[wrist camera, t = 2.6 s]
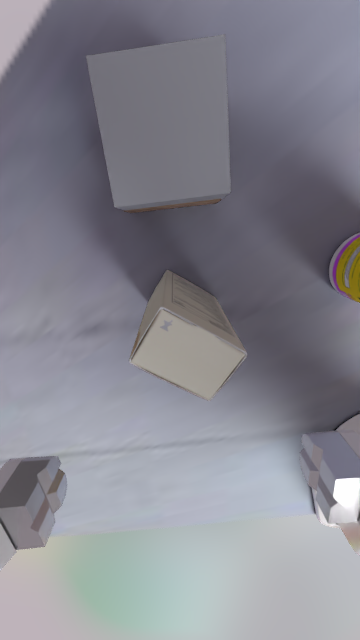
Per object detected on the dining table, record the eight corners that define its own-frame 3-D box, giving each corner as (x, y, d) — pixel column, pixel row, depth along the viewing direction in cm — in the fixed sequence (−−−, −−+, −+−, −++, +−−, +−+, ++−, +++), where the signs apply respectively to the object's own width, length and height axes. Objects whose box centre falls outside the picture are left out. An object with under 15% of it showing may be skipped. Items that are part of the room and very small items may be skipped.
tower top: (222, 198, 20) (231, 192, 17) (125, 210, 20) (114, 207, 17) (216, 71, 17) (225, 34, 14) (103, 87, 17) (85, 55, 14)
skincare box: (146, 303, 26) (120, 361, 15) (167, 267, 25) (155, 302, 14) (198, 331, 27) (210, 406, 16) (220, 299, 26) (250, 355, 15)
